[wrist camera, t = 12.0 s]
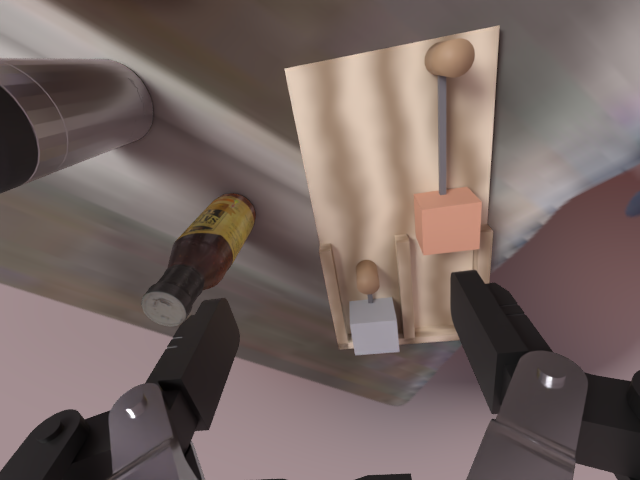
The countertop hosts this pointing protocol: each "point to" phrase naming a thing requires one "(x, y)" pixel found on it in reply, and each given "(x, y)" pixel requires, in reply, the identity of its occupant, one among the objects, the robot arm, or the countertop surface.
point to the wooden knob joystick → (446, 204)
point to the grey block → (372, 315)
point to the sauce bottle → (200, 258)
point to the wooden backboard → (393, 173)
